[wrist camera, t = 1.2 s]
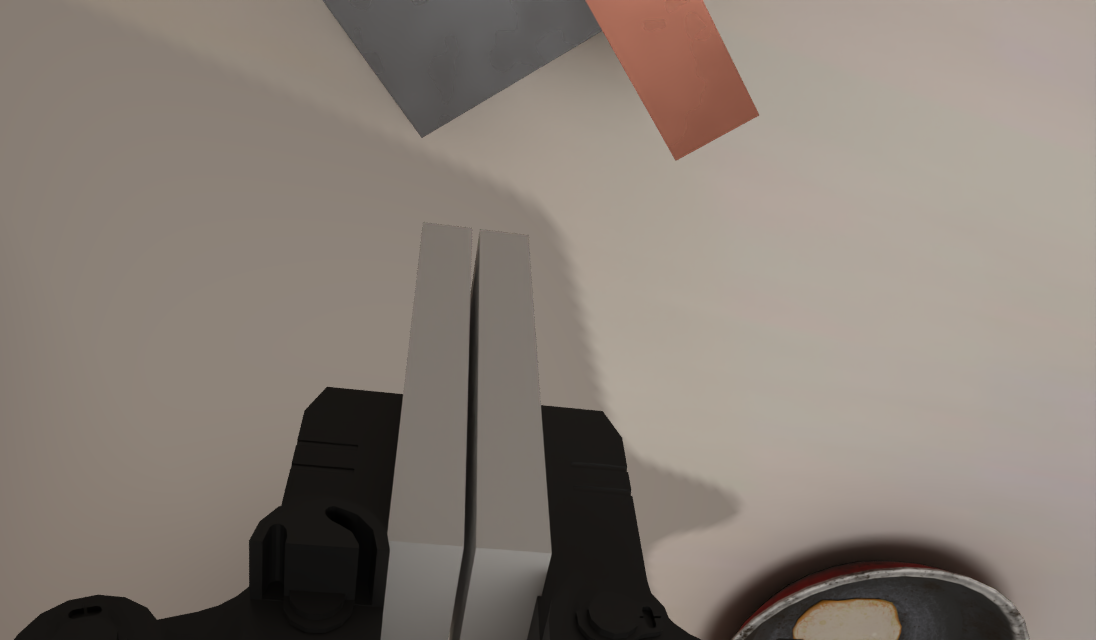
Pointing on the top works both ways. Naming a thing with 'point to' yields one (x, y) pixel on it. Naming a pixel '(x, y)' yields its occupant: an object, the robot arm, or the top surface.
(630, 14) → the scoop with pink handle
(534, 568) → the robot arm
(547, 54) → the grey plate with post
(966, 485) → the top surface
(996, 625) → the frying pan
